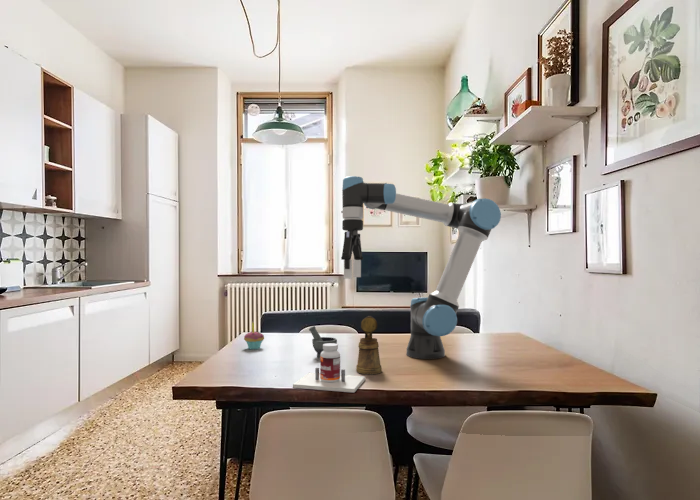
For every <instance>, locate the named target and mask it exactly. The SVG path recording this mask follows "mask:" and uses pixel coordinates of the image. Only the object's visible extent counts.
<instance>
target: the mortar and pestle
mask: <svg viewBox="0 0 700 500" xmlns="http://www.w3.org/2000/svg"><path fill="white" fill-rule="evenodd" d="M308 331H309V332H310V333H311V335H312V337H313V338H312V339H311V340H312V341H311V342H312V348H313V349H314V351H315V352H316V358H317V357H318V359H320V354H321V352H322V351H324V350H323V344H327V343H335V344H338V339H337V338H336V337H331V336H329V337H327V336H326V337H325V336H322V337H321V336H320V333H319V332H318V330H317V329H316V325H313V326H311V327H309V329H308Z"/></svg>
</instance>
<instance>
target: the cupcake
mask: <svg viewBox="0 0 700 500" xmlns="http://www.w3.org/2000/svg"><path fill="white" fill-rule="evenodd" d="M251 325H252V328H251V330H252V331H249V332H247V333H246V334H245V335H244V336H243V337H244V338H243V340H244V341H245V342H246V344H247V347H248V349H249V350H258V349H261V345H262V343H263V341H264V340H265V336H264V334H263V333H261V332H259V331H255V323H254V322H252V323H251Z"/></svg>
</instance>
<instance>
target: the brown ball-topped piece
mask: <svg viewBox="0 0 700 500" xmlns="http://www.w3.org/2000/svg"><path fill="white" fill-rule="evenodd" d="M360 329H361V331H362V332H363V333H364V337H360V339H359V342H358V349H359V350H358V354H357V355H358V356H357V364H356V366H355V367H356V368H355V369H356V371H355V372H356V373H359V374H362V375H377V374H381V373H382V372H383V369H382V365H381V359H380V352H379V351H380V350H379V342H378V338H376V337H375V338H373V333H375V332H376V331H377V330H378V321H377V320H376V318H374V317H373V316H372V315H368V316H366V317H364V318H363V319H362V320H361V321H360Z"/></svg>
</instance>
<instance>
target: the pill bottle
mask: <svg viewBox="0 0 700 500" xmlns="http://www.w3.org/2000/svg"><path fill="white" fill-rule="evenodd" d="M338 349H339V344H338V343H337V344H335V343H327V344H323V350H324V351H322V352H321V354H320V358H319V360H320V361H319V363H320V364H319V365H320V366H319V373H320V379H321V381H323V382H337V381H339V380H340V375H341V353H340V351H338Z"/></svg>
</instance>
